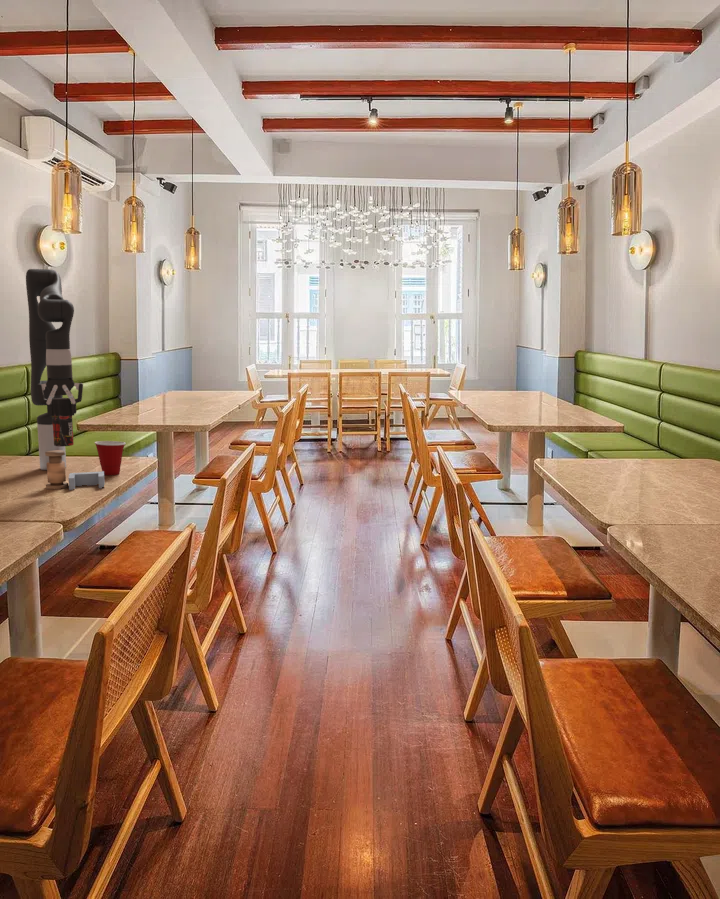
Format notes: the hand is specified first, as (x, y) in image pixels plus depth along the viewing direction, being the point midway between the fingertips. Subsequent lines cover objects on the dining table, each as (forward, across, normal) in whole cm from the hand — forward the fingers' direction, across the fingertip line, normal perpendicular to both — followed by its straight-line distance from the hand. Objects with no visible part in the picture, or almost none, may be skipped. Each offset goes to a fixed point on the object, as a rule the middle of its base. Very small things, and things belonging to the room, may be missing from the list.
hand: (62, 415), depth 241 cm
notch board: (+25, -6, -4) cm, 26 cm away
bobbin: (+25, +3, -6) cm, 26 cm away
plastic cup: (+25, -14, -25) cm, 38 cm away
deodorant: (+10, 0, 0) cm, 10 cm away
